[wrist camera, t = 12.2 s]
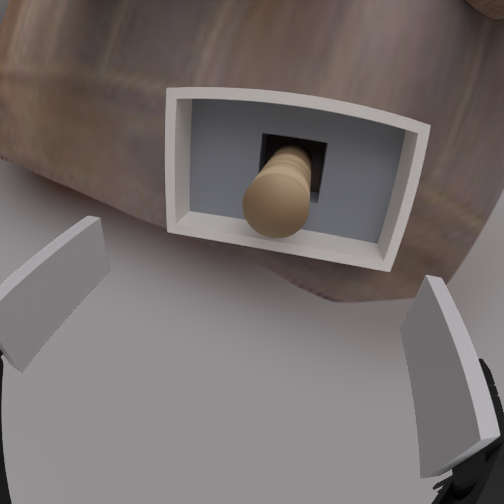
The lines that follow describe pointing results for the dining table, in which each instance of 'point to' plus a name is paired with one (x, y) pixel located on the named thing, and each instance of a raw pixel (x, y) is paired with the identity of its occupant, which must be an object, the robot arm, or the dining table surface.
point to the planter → (489, 8)
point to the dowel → (280, 193)
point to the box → (322, 202)
